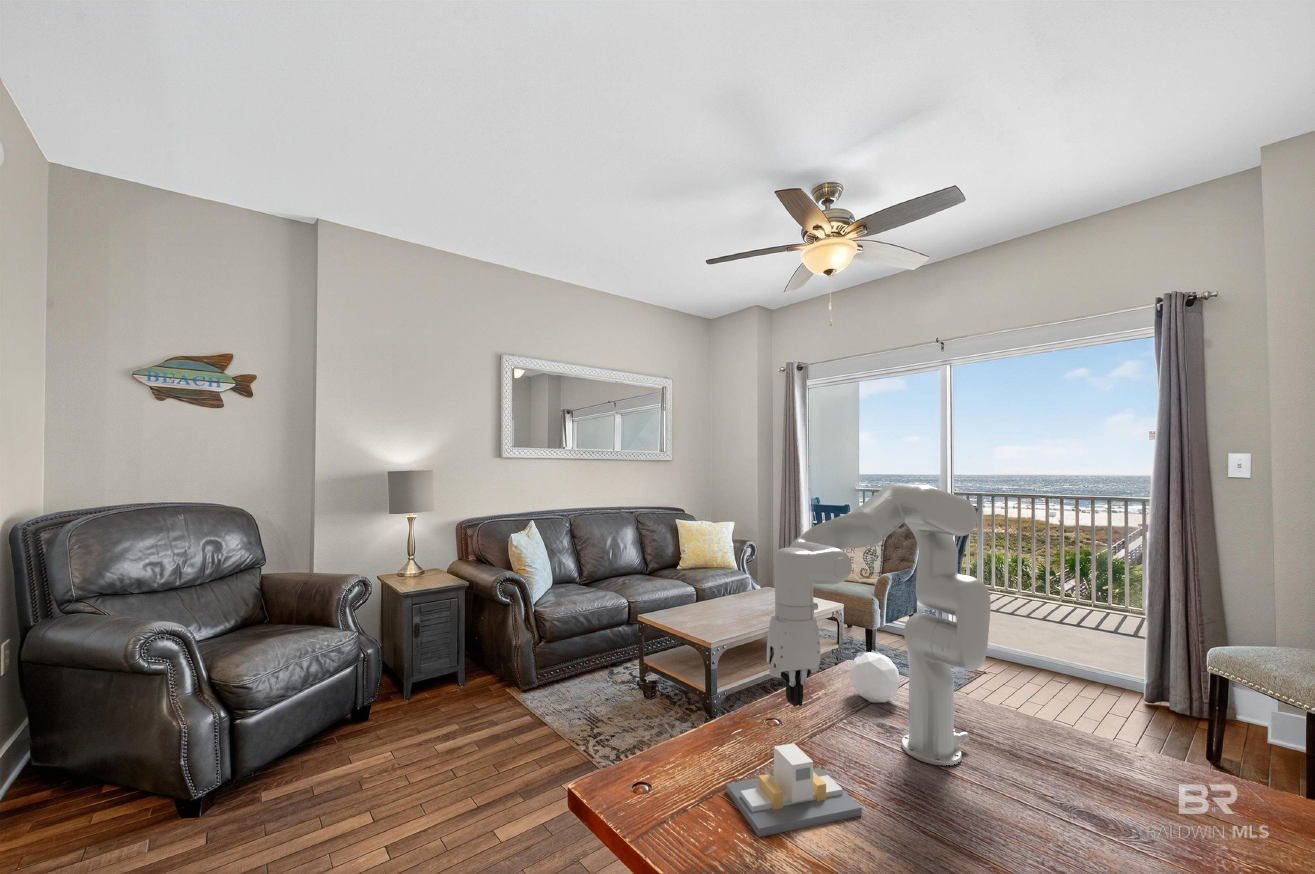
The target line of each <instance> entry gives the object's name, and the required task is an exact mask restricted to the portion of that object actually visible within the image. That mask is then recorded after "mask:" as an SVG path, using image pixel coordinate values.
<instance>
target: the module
mask: <svg viewBox="0 0 1315 874" xmlns="http://www.w3.org/2000/svg"><path fill="white" fill-rule="evenodd" d="M813 768H814V761H813V759H811V758H810V757H809V756H808V754H806V753H805V752H804V751H803V750H802V749H801V748H800V747H798V745H796V744H795V743H793V742H792V743H787V744H782V745H775V746H774V747H773V775H774V782H775V783H776V784H777V786H778V787H779V788H780V789H781V790H782V791H783V793H784V794H785V795H786V796H787V797H788V798H789V799H790V801H791V802H797V801H802V800H807V799H813Z"/></svg>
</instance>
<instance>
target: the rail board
mask: <svg viewBox="0 0 1315 874" xmlns="http://www.w3.org/2000/svg"><path fill="white" fill-rule="evenodd" d="M725 785H726V786H725V789H726V790H725V791H726V793H727V795H728V796H729V798H730V799H731V800H732V801H733V802H734V805H736V807H737V809H738V810H739V811H740V813H741V814H742V815H743V817H744V819H745V820H746V821H747V822H748V825H750V827H751V828H752V830H753V831H754V832H755V834H756V836H757V837H758V838H761V837H765V836H766V837H767V836H770V835H775V834H779V833H785V832H790V831H795V830H798V829H804V828H807V827H808V828H809V827H813V826H817V825H822V824H823V825H824V824H827V823H832V822H838V821H843V820H846V819H851V818H856V817H860V816H863V810H862V809H863V807H862V806H861V805H860V804H858V802H857V801H856V800H855V799H853V797H851V796H850V795H849V794H848V793H847V792H846V791H845V790H844V789H843V788H842V787H841V786H840V785H839V784H838V783H837V782H836V781H835V780H834V779H832V777H831V776H829V775H828V774H827V773H826V772H825V771H824V770H823V769H822V768H821V767H815V768H814V767H813V799H807V800H802V801H797V802H791V801H790V799H789V798H788V797H787V796H786V795H785V794H784V793H783V791H782V790H781V789H780V788H779V787H778V786H777V784H776V783H775V782H774V774H773V775H769V774H768V773H767V774H760V775H758V777H756V778H750V779H746V780H745V779H744V780H741V781H740V780H738V781H734V782H728V783H726V784H725Z"/></svg>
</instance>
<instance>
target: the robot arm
mask: <svg viewBox="0 0 1315 874" xmlns="http://www.w3.org/2000/svg"><path fill="white" fill-rule="evenodd" d="M975 508H976V507H974V505H973V504H972V502H970V501H969V500H968V499H966V498H964V497H961V496H958V495H956V494H953V493H951V492H948V491H945V490H943V489H940V488H938V487H935V486H931V485H926V484H925V485H922V484H909V483H907V484H906V483H892V484H891V483H890V484H888V485H886V486H884V487H883V488H881V489H880V490H879V491H877V492H876V493H874V494H873V495H872V496H871V497H870V498H868V499H867V500H865V502H863V503H862V504H861V505H859V507H857V508H856V509H854V510H853V511H851V512H849V513H846V514H843V515H840V516H837V517H834V518H832V519H829V520H827V521H824V522H821V523H818V524H816V525H814V526H813V527H810V528H809V529H808V530H806V531H805V532H803V533H802V534H801V535H800V536H798V537H796V539H794V541H793V542H792V543H791V544H790V545H789V547H782V548H780V549H777V551H776V552H775V555H774V615H772V616H771V617H770V621H769V625H768V630H767V642H766V662H767V663H768V664H769V671H768V674H769V675H770V676H772V677H773V678H780V679H782V680H783V681H784V682H785V699H786V700H787V702H788V703H789V704H791V705H792V706H793V707H798V706H799V707H802V706H803V699H804V686H805V685H806V684H807V679H808V678H809V677H810V675H811V674H813V673H814V674H815V673H816V672H818V671H820V664H821V657H822V656H821V639H820V631H819V627H818V626H819V625H818V621H817V618H816V617H815V616H814V615H815V611H816V610H818V609H819V605H818V603H817V602H814V586H815V585H839V584H842V583H843V582H845V581H846V580H848V578H849V576H850V575H851V573H852V568H853V565H852V560H851V558H850V556H849V555H848V554H847V553H846V552H845V551H844V550H849V549H860V548H862V549H863V548H867V547H873V546H877V545H879V544H880V543H882V542H883V541H884V540H885V539H886V538H887V537H889V535H890V534H892V533H893V532H894V531H895V530H896V529H898V528H899V527H900V526H901V525H902V524H906V525H907V527H908V529H909V530H910V531H911V532H912V534H913V536H914V538H915V540H916V542H917V547H918V548H917V549H918V553H917V555H918V557H917V567H916V577H915V578H916V580H915V597H916V600H917V602H918V604H920V605H921V606H922V607H925V608H927V609H930V610H933V611H935V612H936V611H937V612H940V613H943V614H946V615H951V616H954V617H956V620H955V621H953V620H950V619H946V618H944V617H940V616H936V615H934V614H930V613H915V614H913V615H911V616H910V617H908V619H907V620H906V622H905V624H904V629H903V630H904V632H903V634H904V641H905V645H906V651H907V658H908V733H907V734H906V735H904V736H903V737H902V738H901V747H902V749H903V750H904V751H905V753H907V754H908V755H909V756H911V757H912V758H914V759H915V760H919V761H921V762H924V763H927V764H929V765H934V766H941V765H942V767H943V766H944V767H945V766H946V765H947V766H946V767H949V766H948V765H950V766H955V765H958V764H959V763H960V762H961V761H962V757H963V755H962V751H961V750H960V749H959V747H958V745H959V744H960V743H964V742H968V741H970V735H969V734H968V732H967V731H962V732H958V733H957V732H956V730H955V721H954V719H955V709H954V708H955V702H954V701H955V696H954V693H955V681H954V676H953V675H954V674H953V671H952V669H951V666H952V667H956V668H959V669H962V670H965V671H970V672H971V671H972V672H973V671H976V670H978V669H980V668H981V667H982V666H983V665H984V663H985V661H986V658H987V657H986V656H987V653H988V645H989V635H990V634H989V633H990V631H989V630H990V621H991V619H990V618H991V595H990V591H989V590H988V589H989V588H988V587H987V586H986V584H985V583H984V582H983V581H982V580H980V579H979V578H976V577H975V576H970V575H966V574H961V573H959V572H958V570H959V569H958V567H959V564H958V563H959V550H958V546H957V544H956V542H955V540H954V538H953V536H955V537H964V536H968V535H969V534H970V533H972V532H973V531H974V529H975V528H976V526H977V523H978V513H977V510H976V509H975ZM950 665H951V666H950ZM958 762H959V763H958ZM954 764H955V765H954Z"/></svg>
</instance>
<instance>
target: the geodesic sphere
mask: <svg viewBox="0 0 1315 874" xmlns="http://www.w3.org/2000/svg"><path fill="white" fill-rule="evenodd" d="M849 673H850V675H849V676H850V683H851V686H852V687H853V688H854V690H855V691H856V692H857V694H858V695H859V696H861V697H862V698H864V699H865V700H867V701H868V702H870V703H886V702H889V700H891V699H893V698H894V697H896V696H897V693H898V690H899V687H900V684H901V682H900V681H901V680H900V675H899V673H900V672H899V669H898V668H897V666H896V665H895V664H894V663H893V661H892V659H891V658H890V657H888V656H886V655H884V654H883V653H880V652H878V651H876V650H873V649H871V652H870V651H869V652H868V651H865V652H864V651H859V652H856V657H854V659H853V661H852V664H851V667H850V669H849Z"/></svg>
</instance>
